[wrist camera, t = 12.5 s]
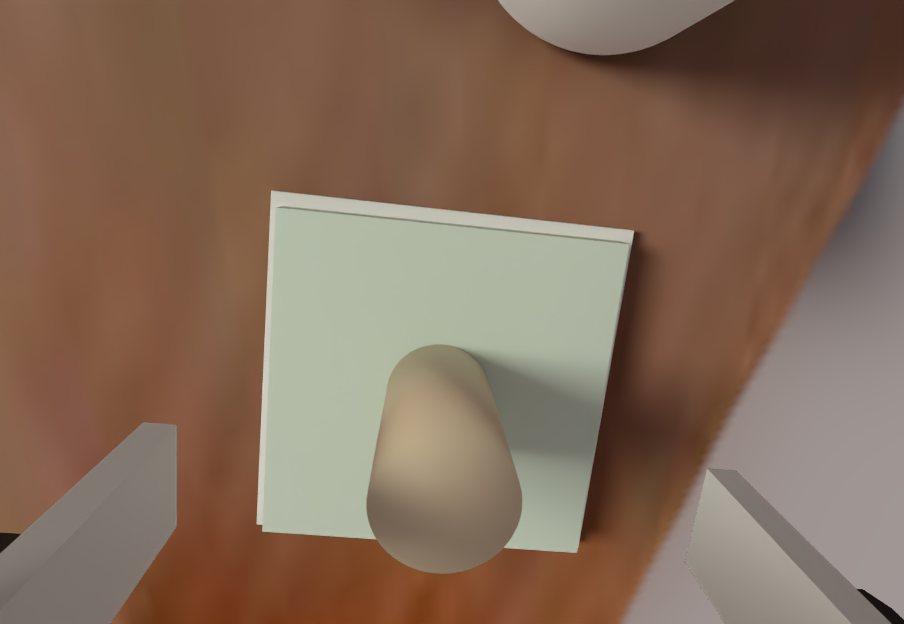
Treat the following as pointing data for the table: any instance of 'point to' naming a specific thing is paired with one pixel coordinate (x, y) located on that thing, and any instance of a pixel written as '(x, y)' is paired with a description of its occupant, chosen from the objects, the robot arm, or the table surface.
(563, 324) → the lid
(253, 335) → the table surface
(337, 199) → the mat
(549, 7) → the cup
